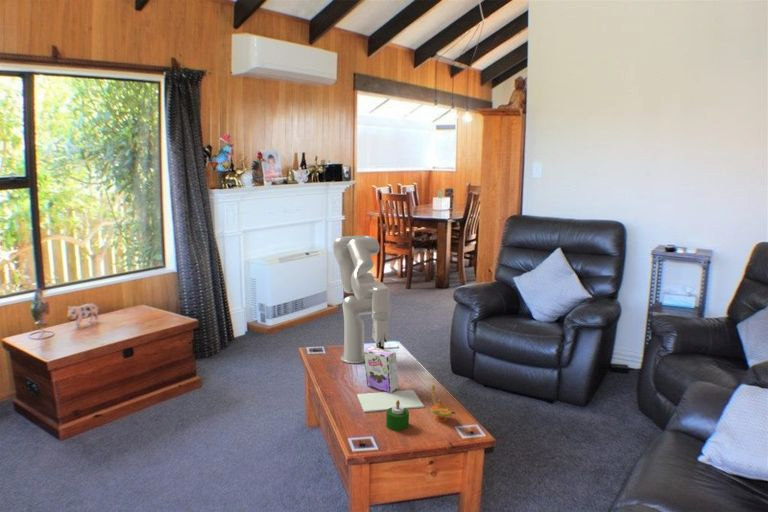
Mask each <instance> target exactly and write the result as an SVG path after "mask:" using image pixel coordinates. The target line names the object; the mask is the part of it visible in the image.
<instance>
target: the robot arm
mask: <svg viewBox="0 0 768 512" xmlns="http://www.w3.org/2000/svg"><path fill="white" fill-rule="evenodd" d="M332 248H333V254H334V257H335V260H336V261H337V263H338V267H339V273H340V280H341V285H342V289H343V292H344V293H347V294H354V295H349V296H346V297H344V298H343V300H342V311H343V313H342V314H343V321H344V323H343V324H344V325H343V326H344V331H343V332H344V333H343V338H344V339H343V340H344V341H343V342H344V344H343V345H344V347H343V348H344V349H343V354H342V355H341V357H340V360H341V361H342V362H344V363H346V364H354V363H355V364H360V363H365V359H364V350H365V323H364V321H363V320H362V319H361V317H360V316H362V315H371V320H372V329H371V330H372V332H371V334H372V335H371V338H372V339H373V340H374V342H375V343H376V346H375V347H376V348H380V349H384V350H385V343H387V342H388V337H389V336H388V335H389V334H388V333H389V332H388V329H389V328H388V325H389V324H388V320H389V319H390V310H391V309H390V305H391V304H390V303H391V302H390V301H391V299H390V297H391V294H390V293H391V291H390V290H391V289H390V287H389V286H386V284H385V283H384V282H383V281H376V279H375V277H374V275H373V273H371V272H370V271H371V270H372V268H373V267H374V261H373V257H372V256H376V255H378V253H379V252H380V248H381V247H380V243H379V241H378V239H377V238H376V237H374V236H370V235H348V236H347V235H346V236H345V235H344V236H340V237H337V238H336V239H334V241H333V247H332Z"/></svg>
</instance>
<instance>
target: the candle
mask: <svg viewBox="0 0 768 512" xmlns="http://www.w3.org/2000/svg"><path fill="white" fill-rule="evenodd" d="M399 405H400V402H399V400H397V401H396V406H394V407H392V408H389V409H388V410H387V411H385V412H386V418H385V423H386V428H387V429H388V430H391V431H395V432H400V431H401V432H402V431H404V430H407V429H408V428H409V426H410V425H409V424H410V423H409V422H410V421H409V420H410V411H409V409H406V408H403V407H401V406H399Z"/></svg>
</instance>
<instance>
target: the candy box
mask: <svg viewBox="0 0 768 512" xmlns="http://www.w3.org/2000/svg"><path fill="white" fill-rule="evenodd" d="M376 347H377V346H373V345H372V346H370V347H368V348H366V349H364V359H365V362H364V367H365V377H366V378H365V379H366V386H367V387H370V388H373V389H376V390H379V391H383V392H388V393H391V392H393V391H398V390H399V387H400V386H399V378H398V377H399V375H398V364H397V352H396V351H391V350H387V349H385V348H384V349H380V348H376Z"/></svg>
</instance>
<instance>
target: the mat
mask: <svg viewBox="0 0 768 512" xmlns="http://www.w3.org/2000/svg"><path fill="white" fill-rule="evenodd" d="M356 396H357V399H358V401H359V405H360V406H361V408H362V411H363V413H372V412H373V413H374V412H375V413H376V412H384V411H385V412H386V411H387V410H388V409H389V408H392V407H394V406H396V401H397V400H399V402H400V405H399V406H401V407H403V408H406V409H407V410H410V409H411V410H412V409H420V408H424V407H425V406H424V404H423V402H422V401H421V399H420V398H419V396H418V395H417V393H416V392H415V390H414V389H407V390H395V391H393V392H391V393H388V392H385V391H383V392H381V391H380V392H372V393H371V392H370V393H367V392H365V393H356Z"/></svg>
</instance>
